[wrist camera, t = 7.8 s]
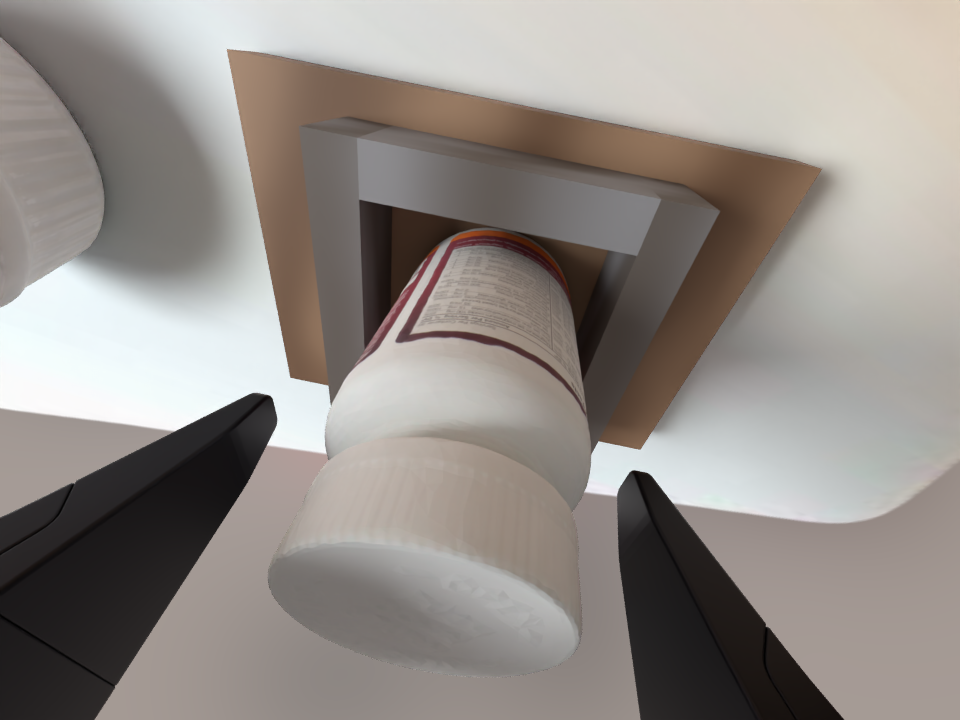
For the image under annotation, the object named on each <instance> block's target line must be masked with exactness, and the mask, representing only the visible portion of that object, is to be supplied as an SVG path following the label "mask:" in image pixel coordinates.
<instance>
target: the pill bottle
mask: <svg viewBox="0 0 960 720" xmlns="http://www.w3.org/2000/svg"><path fill="white" fill-rule="evenodd" d="M325 446H326V452H327V456H328V460H329V461H328V462H327V463H326V464H325V465H324V466H323V467H322V469H321V470H320V472H319V473H318V475H317V476H316V478H315V480H314V482H313V483H312V485H311V487H310V489H309V490H308V492H307V494H306V496H305V499H304V501H303V504H302V506H301V508H300V509H299V511H298V513H297V515H296V517H295V518H294V520H293V522H292V524H291V525H290V527H289V529H288V531H287V532H286V534H285V536H284V538H283V540H282V542H281V543H280V545H279V547H278V549H277V551H276V553H275V554H274V556H273V558H272V561H271V563H270V566H269V571H268V583H269V588H270V590H271V593H272V595H273V596H274V598H275V599H276V601H277V602H278V603H279V605H280V606H281V607H282V608H283V609H284V610H285V611H286V612H287V613H288V614H289V615H290V616H292V617H293V618H294V619H295V620H296V621H298V622H299V623H300V624H302V625H303V626H305V627H306V628H308V629H309V630H311V631H313V632H314V633H316V634H318V635H319V636H321V637H323V638H325V639H327V640H329V641H331V642H334V643H336V644H338V645H340V646H343V647H345V648H348V649H350V650H353V651H355V652H357V653H360V654H362V655H365V656H368V657H371V658H374V659H376V660H380V661H384V662H387V663H391V664H395V665H398V666H402V667H407V668H410V669H416V670H421V671H427V672H432V673H438V674H445V675H456V676H466V677H511V676H519V675H526V674H530V673H535V672H540V671H544V670H548V669H550V668H552V667H555V666H557V665H560V664H561V663H563V662H564V661H565V660H567V659H568V658H569V657H571V656H572V655H573V654H574V653H575V651H576V650H577V648H578V646H579V644H580V640H581V635H582V607H581V594H580V580H579V568H578V551H579V548H578V547H579V546H578V535H577V527H576V523H575V520H574V517H573V514H572V511H573V510H574V509H575V507H576V506H577V504H578V503H579V501H580V500H581V498H582V495H583V493H584V491H585V489H586V486H587V483H588V479H589V474H590V467H591V440H590V432H589V427H588V420H587V412H586V404H585V396H584V389H583V383H582V376H581V369H580V362H579V356H578V349H577V342H576V334H575V327H574V318H573V312H572V304H571V299H570V294H569V289H568V286H567V282H566V279H565V277H564V275H563V272H562V270H561V269H560V267H559V265H558V264H557V262H556V261H555V260H554V258H553V257H552V256H551V255H550V254H549V253H548V252H547V251H546V250H545V249H544V248H543V247H541V246H540V245H539V244H538V243H536V242H535V241H533V240H532V239H530V238H528V237H526V236H524V235H521V234H519V233H516V232H513V231H510V230H506V229H501V228H476V229H470V230H467V231H463V232H459V233H457V234H455V235H453V236H451V237H449V238H447V239H445V240H443V241H442V242H441V243H439V244H438V245H437V246H436V247H434V248H433V249H432V250H431V251H430V252H429V253H428V255H427V256H426V257H425V258H424V260H423V261H422V262H421V264H420V265H419V267H418V268H417V270H416V271H415V272H414V274H413V276H412V278H411V279H410V281H409V283H408V284H407V286H406V287H405V288H404V290H403V291H402V293H401V295H400V297H399V298H398V300H397V302H396V303H395V304H394V306H393V307H392V309H391V310H390V312H389V313H388V315H387V316H386V318H385V320H384V321H383V323H382V324H381V326H380V327H379V329H378V331H377V332H376V334H375V335H374V337H373V338H372V340H371V341H370V343H369V344H368V346H367V347H366V349H365V351H364V352H363V354H362V355H361V357H360V358H359V360H358V361H357V363H356V364H355V366H354V367H353V369H352V370H351V371H350V373H349V374H348V375H347V377H346V378H345V380H344V382H343V384H342V386H341V388H340V390H339V391H338V393H337V395H336V397H335V399H334V401H333V402H332V405H331V408H330V410H329V413H328V417H327V422H326V428H325Z"/></svg>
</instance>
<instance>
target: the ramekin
mask: <svg viewBox="0 0 960 720" xmlns="http://www.w3.org/2000/svg"><path fill="white" fill-rule="evenodd" d="M104 206H105V201H104V188H103V183H102V179H101V175H100V172H99V169H98V166H97V163H96V161H95V158H94V156H93V154H92V151H91V148H90V146H89V145H88V143H87V141H86V139H85V137H84V135H83V133H82V131H81V130H80V128H79V127H78V125H77V124H76V122H75V120H74V119H73V117H72V116H71V114H70V113H69V111H68V110H67V108H66V107H65V105H64V104H63V103H62V101H61V100H60V99H59V97H58V96H57V95H56V93H55V92H54V91H53V90H52V89H51V87H50V86H49V85H48V84H47V83H46V81H45V80H44V79H43V78H42V77H41V76H40V75H39V74H38V73H37V71H36V70H35V69H34V68H33V67H32V66H31V65H30V64H29V63H28V62H27V61H26V60H25V59H24V58H23V57H22V56H21V55H20V54H19V53H18V52H17V51H16V50H15V49H14V48H12V47H11V46H10V45H9V44H8V43H7V42H6V41H4V40H3V39H2V38H1V37H0V308H1V307H3V306H5V305H7V304H8V303H10V302H12V301H13V300H14V299H16V298H17V297H18V296H19V295H20V294H21V293H22V291H23V290H24V289H25V287H27V286H29V285H30V284H32V283H34V282H35V281H37V280H39V279H41V278H42V277H44V276H45V275H47V274H49V273H50V272H52V271H53V270H55V269H57V268H58V267H60V266H62V265H63V264H65V263H67V262H68V261H70V260H72V259H73V258H75V257H76V256H78V255H79V254H81V253H82V252H83V251H84V250H86V249H87V248H89V247H90V246H91V244H92V242H93V241H94V240H95V239H96V238H97V236H98V232H99V230H100V229H101V225H102V220H103V214H104Z"/></svg>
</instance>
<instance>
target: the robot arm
mask: <svg viewBox="0 0 960 720" xmlns="http://www.w3.org/2000/svg"><path fill="white" fill-rule="evenodd" d="M276 425H277V415H276V411H275V407H274V402H273V399H272V397H271V396H269V395H265V394H260V393H252V394H249V395H247V396H245V397H243V398H241V399H239V400H237V401H235V402H233V403H231V404H229V405H227V406H225V407H223V408H221V409H219V410H217V411H215V412H213V413H211V414H209V415H207V416H205V417H203V418H201V419H199V420H197V421H195V422H193V423H191V424H189V425H187V426H185V427H183V428H181V429H179V430H177V431H175V432H173V433H171V434H169V435H167V436H165V437H163V438H161V439H159V440H157V441H155V442H153V443H151V444H149V445H147V446H145V447H143V448H141V449H139V450H137V451H135V452H133V453H131V454H129V455H127V456H125V457H123V458H121V459H119V460H117V461H115V462H113V463H111V464H109V465H107V466H105V467H103V468H101V469H99V470H97V471H95V472H93V473H91V474H89V475H87V476H85V477H83V478H81V479H79V480H77V481H76V482H75V484H74V483H71V484H69V485H67V486H65V487H62V488H60V489H58V490H57V491H55V492H53V493H50V494H49V495H47V496H44V497H42V498H40V499H38V500H36V501H34V502H32V503H30V504H28V505H26V506H24V507H22V508H20V509H17V510H15V511H13V512H11V513H9V514H7V515H5V516H2V517H0V720H94V719H95V718H96V717H97V715H98V713H99V712H100V710H101V709H102V707H103V706H104V704H105V703H106V701H107V700H108V698H109V697H110V695H111V693H112V692H113V690H114V689H115V685H117V684H118V682H119V681H120V679H121V678H122V676H123V674H124V673H125V671H126V670H127V668H128V667H129V665H130V664H131V662H132V661H133V659H134V657H135V656H136V654H137V653H138V651H139V650H140V648H141V647H142V645H143V644H144V642H145V640H146V639H147V637H148V636H149V634H150V633H151V631H152V629H153V628H154V627H155V625H156V623H157V622H158V620H159V619H160V617H161V616H162V614H163V613H164V611H165V610H166V608H167V606H168V605H169V603H170V602H171V600H172V599H173V597H174V596H175V594H176V593H177V591H178V589H179V588H180V586H181V585H182V583H183V582H184V580H185V579H186V577H187V576H188V574H189V572H190V571H191V569H192V568H193V566H194V565H195V563H196V562H197V560H198V559H199V557H200V556H201V554H202V552H203V551H204V549H205V548H206V546H207V545H208V543H209V541H210V540H211V539H212V537H213V535H214V534H215V532H216V531H217V529H218V528H219V526H220V524H221V523H222V521H223V520H224V518H225V517H226V515H227V514H228V512H229V511H230V509H231V508H232V506H233V505H234V503H235V501H236V500H237V498H238V497H239V495H240V494H241V492H242V491H243V489H244V487H245V486H246V484H247V483H248V480H249V479H250V477H251V475H252V473H253V471H254V469H255V467H256V465H257V463H258V461H259V460H260V457H261V455H262V454H263V452H264V450H265V448H266V446H267V444H268V442H269V440H270V438H271V436H272V434H273V432H274V430H275V428H276ZM617 511H618V549H619V563H620V572H621V579H622V586H623V594H624V601H625V608H626V616H627V623H628V631H629V638H630V645H631V653H632V659H633V667H634V674H635V682H636V688H637V696H638V704H639V711H640V718H641V720H844V719H843V718H842V717H841V715H840V714H839V713H838V712H837V711H836V710H835V708H834V707H833V706H832V705H831V704H830V703H829V701H828V700H827V699H826V698H825V697H824V695H823V694H822V693H821V692H820V691H819V689H818V688H817V687H816V686H815V685H814V684H813V682H812V681H811V680H810V679H809V678H808V676H807V675H806V674H805V673H804V671H803V670H802V669H801V668H800V666H799V665H798V664H797V663H796V661H795V660H794V659H793V658H792V656H791V655H790V654H789V653H788V651H787V650H786V649H785V648H784V646H783V645H782V644H781V642H780V641H779V640H778V638H777V637H776V636H775V635H774V633H773V632H772V631H771V629H770V628H769V627H766V624H765V622H764V621H763V619H762V618H761V617H760V615H759V614H758V613H757V612H756V610H755V609H754V608H753V606H752V605H751V604H750V603H749V601H748V600H747V599H746V597H745V596H744V595H743V593H742V592H741V591H740V590H739V588H738V587H737V586H736V585H735V583H734V582H733V581H732V579H731V578H730V577H729V576H728V574H727V573H726V571H725V570H724V569H723V568H722V566H721V565H720V564H719V562H718V561H717V560H716V559H715V557H714V556H713V555H712V553H711V552H710V551H709V550H708V548H707V547H706V546H705V544H704V543H703V542H702V541H701V539H700V538H699V537H698V535H697V534H696V533H695V531H694V530H693V529H692V528H691V526H690V525H689V524H688V522H687V521H686V520H685V519H684V517H683V516H682V515H681V513H680V512H679V511H678V509H677V508H676V507H675V506H674V504H673V503H672V502H671V500H670V499H669V498H668V497H667V495H666V494H665V493H664V491H663V490H662V489H661V488H660V486H659V485H658V484H657V482H656V481H655V480H654V478H653V477H652V476H651V475H650V474H648V473H645V472H640V471H635V470H633V471H631V472H630V473H629V474H628V476H627V477H626V479H625V480H624V482H623V484H622V485H621V487H620V488H619V491H618V494H617Z"/></svg>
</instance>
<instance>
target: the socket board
mask: <svg viewBox="0 0 960 720" xmlns="http://www.w3.org/2000/svg"><path fill="white" fill-rule="evenodd" d="M227 53H228V58H229V63H230V68H231V73H232V78H233V84H234V89H235V94H236V99H237V104H238V109H239V115H240V120H241V125H242V130H243V135H244V140H245V145H246V151H247V156H248V161H249V166H250V171H251V176H252V182H253V187H254V192H255V197H256V202H257V207H258V212H259V218H260V223H261V228H262V233H263V238H264V243H265V249H266V254H267V259H268V264H269V269H270V274H271V279H272V285H273V290H274V295H275V300H276V305H277V310H278V316H279V321H280V326H281V331H282V336H283V341H284V346H285V352H286V357H287V362H288V367H289V372H290V377H291V378H295V379H300V380H305V381H309V382H314V383H319V384H324V385H329V393H330V402H331V405H332V402H333V401H334V399H335V397H336V395H337V393H338V391H339V390H340V388H341V386H342V384H343V382H344V380H345V378H346V377H347V375H348V374H349V373H350V371H351V370H352V369H353V367H354V366H355V364H356V363H357V361H358V360H359V358H360V357H361V355H362V354H363V352H364V351H365V349H366V347H367V346H368V344H369V343H370V341H371V340H372V338H373V337H374V335H375V334H376V332H377V331H378V329H379V327H380V326H381V324H382V323H383V321H384V320H385V318H386V316H387V315H388V313H389V312H390V310H391V309H392V307H393V306H394V304H395V303H396V302H397V300H398V298H399V297H400V295H401V293H402V291H403V290H404V288H405V287H406V286H407V284H408V283H409V281H410V279H411V278H412V276H413V274H414V272H415V271H416V270H417V268H418V267H419V265H420V264H421V262H422V261H423V260H424V258H425V257H426V256H427V255H428V253H429V252H430V251H431V250H432V249H433V248H434V247H436V246H437V245H438V244H439V243H441V242H442V241H443V240H445V239H447V238H449V237H451V236H453V235H455V234H457V233H459V232H463V231H467V230H470V229H476V228H501V229H506V230H510V231H513V232H516V233H519V234H521V235H524V236H526V237H528V238H530V239H532V240H533V241H535V242H536V243H538V244H539V245H540V246H541V247H543V248H544V249H545V250H546V251H547V252H548V253H549V254H550V255H551V256H552V257H553V258H554V260H555V261H556V262H557V264H558V265H559V267H560V269H561V270H562V272H563V275H564V277H565V279H566V282H567V286H568V289H569V294H570V299H571V304H572V312H573V318H574V327H575V334H576V342H577V349H578V356H579V362H580V369H581V376H582V383H583V389H584V396H585V404H586V412H587V420H588V427H589V432H590V440H591V454H592V452H593V450H594V448H595V446H596V444H597V443H598V441H600V442H605V443H610V444H615V445H620V446H625V447H630V448H634V449H639V450H640V449H641V448H642V446H643V445H644V443H645V442H646V440H647V439H648V437H649V435H650V434H651V432H652V431H653V429H654V428H655V426H656V425H657V423H658V422H659V420H660V418H661V417H662V415H663V414H664V412H665V411H666V409H667V408H668V406H669V405H670V403H671V401H672V400H673V398H674V397H675V395H676V394H677V392H678V391H679V389H680V388H681V386H682V384H683V383H684V381H685V380H686V378H687V377H688V375H689V374H690V372H691V371H692V369H693V368H694V366H695V364H696V363H697V361H698V360H699V358H700V357H701V355H702V354H703V352H704V351H705V349H706V347H707V346H708V344H709V343H710V341H711V340H712V338H713V337H714V335H715V334H716V332H717V330H718V329H719V327H720V326H721V324H722V323H723V321H724V320H725V318H726V317H727V315H728V313H729V312H730V310H731V309H732V307H733V306H734V304H735V303H736V301H737V300H738V298H739V296H740V295H741V293H742V292H743V290H744V289H745V287H746V286H747V284H748V283H749V281H750V279H751V278H752V276H753V275H754V273H755V272H756V270H757V269H758V267H759V266H760V264H761V262H762V261H763V259H764V258H765V256H766V255H767V253H768V252H769V250H770V249H771V247H772V245H773V244H774V242H775V241H776V239H777V238H778V236H779V235H780V233H781V232H782V230H783V228H784V227H785V225H786V224H787V222H788V221H789V219H790V218H791V216H792V215H793V213H794V211H795V210H796V208H797V207H798V205H799V204H800V202H801V201H802V199H803V198H804V196H805V194H806V193H807V191H808V190H809V188H810V187H811V185H812V184H813V182H814V181H815V179H816V177H817V176H818V174H819V173H820V171H821V170H822V169H820V168H817V167H814V166H811V165H808V164H805V163H802V162H799V161H796V160H791V159H786V158H781V157H776V156H771V155H766V154H761V153H756V152H751V151H746V150H741V149H736V148H731V147H726V146H721V145H717V144H712V143H707V142H702V141H697V140H692V139H687V138H682V137H677V136H672V135H667V134H662V133H657V132H652V131H647V130H642V129H637V128H632V127H627V126H622V125H617V124H612V123H607V122H602V121H597V120H592V119H587V118H582V117H577V116H572V115H567V114H562V113H557V112H552V111H547V110H542V109H537V108H532V107H528V106H523V105H518V104H513V103H508V102H503V101H498V100H493V99H488V98H483V97H478V96H473V95H468V94H463V93H458V92H453V91H448V90H443V89H438V88H433V87H428V86H423V85H418V84H413V83H408V82H403V81H398V80H393V79H388V78H383V77H378V76H373V75H368V74H363V73H358V72H353V71H348V70H344V69H339V68H334V67H329V66H324V65H319V64H314V63H309V62H304V61H299V60H294V59H289V58H284V57H279V56H274V55H269V54H264V53H259V52H251V51H240V50H229V49H227Z"/></svg>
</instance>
